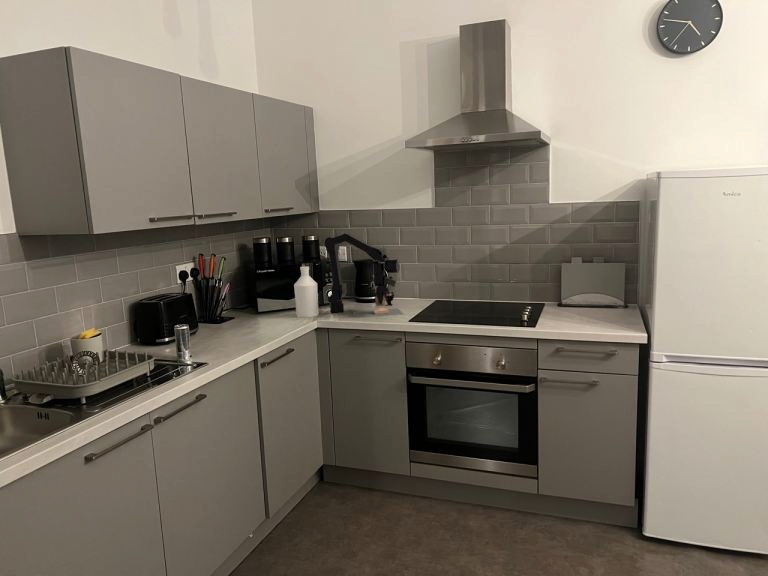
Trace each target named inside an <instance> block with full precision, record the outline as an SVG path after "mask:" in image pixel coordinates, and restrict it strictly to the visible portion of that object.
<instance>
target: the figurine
mask: <svg viewBox="0 0 768 576" xmlns="http://www.w3.org/2000/svg"><path fill="white" fill-rule="evenodd" d="M384 297H385V302H386V305H387V306H390V305H391V306H393V303H392V302H393V300H394V298H395V293H394V291H393V290H389V291H388V292H386V293H385V294H384ZM386 305H383V306H384V307H383V308H386V307H385V306H386Z"/></svg>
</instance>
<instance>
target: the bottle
mask: <svg viewBox="0 0 768 576" xmlns="http://www.w3.org/2000/svg"><path fill="white" fill-rule="evenodd" d="M299 270H300V273H301V274H300V277H299V278H298V279H297V281H296V282H295V283H294V284H293V287H294V299H295V300H294V301H295V311H296V312H295V313H296V317H297V316H298V318H312V317H317V316H319V314H320V313H319V293H318V291H319V289H318V282H316V281H315V280H314V279H313V278H312V277H311V276H310V271H309V270H310V266H300V269H299Z"/></svg>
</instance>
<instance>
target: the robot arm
mask: <svg viewBox="0 0 768 576" xmlns="http://www.w3.org/2000/svg"><path fill="white" fill-rule="evenodd" d="M345 242H346V243H348V244H350V245H352V246H354V247H355V248H358V249H360V251H361V250H362V251H363V252H365V254H367V256H369V257H370V258H371V260H370V261H369V262H368V264H369V265H372V273H373V274H372V278H373V279H372V281H371V282H370V288H372V291H373V293H374V296H377V298H378V301H379V303H380V304H382V301H383V296H384V294H385V293H386V292H388V291H390V290H389V287H388V286H387V285H389V286H391V287H395V286H396V283H397V280H396V279H393V276H391V275H388V276H387V275H386V274H385V272H386V273H387V274H390V273H391V274H398V273H399V272H400V266H401V265H400V264H399V260H398V259H397V258H395V259H394V258H393V259H390V258H389V257H388V256H387V254H386V252H385V249H384V248H383V247H379V246H377V245H372V244H369V243H368V242H366V241H364V240H362V239H360V238H358V237H357V236H354V235H352V234H351V233H350V232H346V233H343V234H341V235H337V236H335V235H333V236H329V237H326V238H325V239H324V242H323V243H324V246H325V247H324V248H325V250H326V252H327V254H328V256H329V263H330V269H331V277H332V285H331V294H330V295H329V296H328V297H327V302H328V303H329V313H330V314H331V315H332V314H343V313H344V312H345V308H344V302H343V300H344V297H345V296H346V295H347V292H348V288H347V283H344V281H343V279H342V272H341V266H340V258H339V252H340V244H342V243H345Z"/></svg>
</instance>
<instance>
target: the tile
mask: <svg viewBox="0 0 768 576" xmlns="http://www.w3.org/2000/svg"><path fill="white" fill-rule="evenodd" d="M388 309H389V308H387V307H380V308H379V307H378V308H372V310H373V313H374V314H387V313H388Z"/></svg>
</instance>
